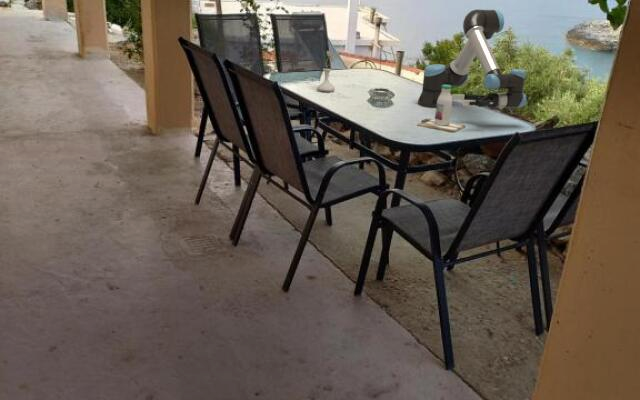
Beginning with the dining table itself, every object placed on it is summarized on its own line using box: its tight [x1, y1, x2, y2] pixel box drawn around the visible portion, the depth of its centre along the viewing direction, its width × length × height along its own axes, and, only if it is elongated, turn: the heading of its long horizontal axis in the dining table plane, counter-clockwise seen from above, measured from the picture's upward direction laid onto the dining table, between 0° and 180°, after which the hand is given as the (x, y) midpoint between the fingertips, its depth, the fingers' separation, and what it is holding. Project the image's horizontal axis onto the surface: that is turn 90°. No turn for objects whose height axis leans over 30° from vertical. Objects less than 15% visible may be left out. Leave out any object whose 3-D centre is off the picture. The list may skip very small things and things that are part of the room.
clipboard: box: [416, 118, 466, 134], centre depth 303 cm, size 16×20×2 cm
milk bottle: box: [434, 85, 453, 126], centre depth 300 cm, size 8×8×20 cm
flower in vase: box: [317, 50, 336, 93], centre depth 372 cm, size 13×11×25 cm
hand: (457, 99), depth 300 cm, fingers open, 13 cm apart
